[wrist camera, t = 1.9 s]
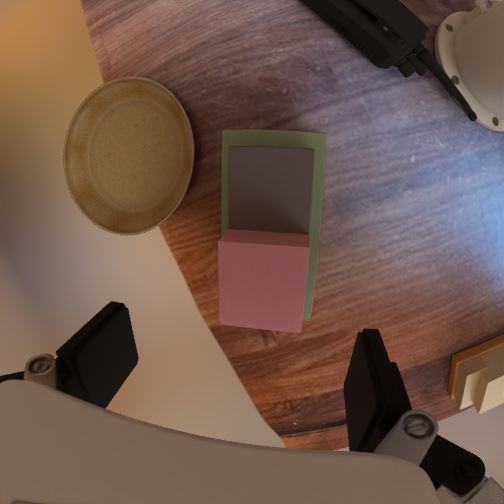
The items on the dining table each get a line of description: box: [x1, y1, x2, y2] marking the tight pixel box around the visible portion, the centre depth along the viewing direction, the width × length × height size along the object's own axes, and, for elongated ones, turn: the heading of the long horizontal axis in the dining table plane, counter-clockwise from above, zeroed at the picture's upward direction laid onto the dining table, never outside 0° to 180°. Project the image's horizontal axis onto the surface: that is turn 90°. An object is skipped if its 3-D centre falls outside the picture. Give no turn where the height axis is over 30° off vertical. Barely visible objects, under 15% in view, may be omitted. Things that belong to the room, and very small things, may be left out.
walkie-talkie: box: [301, 0, 477, 121], centre depth 17 cm, size 6×6×20 cm
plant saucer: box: [63, 76, 194, 235], centre depth 25 cm, size 15×15×3 cm
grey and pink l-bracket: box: [218, 146, 314, 333], centre depth 16 cm, size 10×5×3 cm, turn 179°
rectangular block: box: [222, 129, 326, 320], centre depth 22 cm, size 12×6×8 cm, turn 179°
